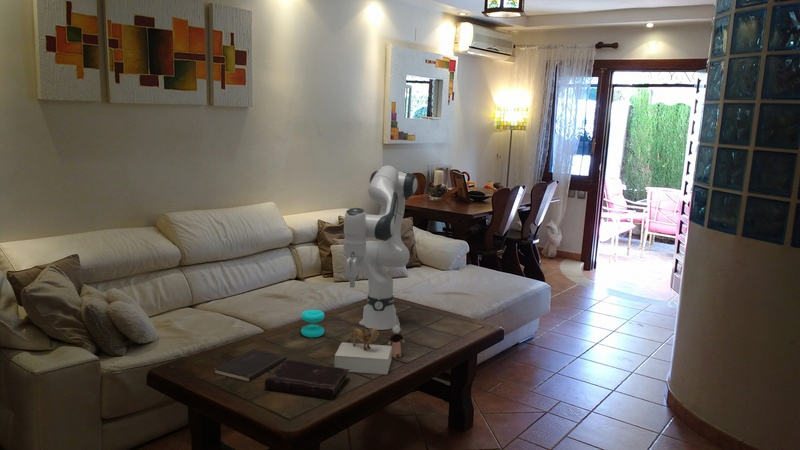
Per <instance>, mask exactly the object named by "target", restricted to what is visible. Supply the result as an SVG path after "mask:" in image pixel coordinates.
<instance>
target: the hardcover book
mask: <svg viewBox="0 0 800 450" xmlns="http://www.w3.org/2000/svg"><path fill="white" fill-rule="evenodd" d="M286 359H288V357H287V356H286V355H283V354H280V353H274V352H270V351H264V350H261V349H257V348H252V349H251V350H248V351H246V352H244V353H242V354H240V355H238V356H237V357H236V356H235V358H233V359H231V360H229V361H226V362H224V363H222V364H220V365H219V366H217V367H214V368H213V370H215V371H214V373H215V374H217V375H222V376H226V377H230V378H234V379H236V380H241V381H245V382H248V383H251V382H252V381H253V380H255V379H257V378H258V377H261V376H263V375H264V374H266V373H268V372H269V371H271V370H274V369H276V368H277V367H278V366H279V365H280V364H281V363H282V362H284V361H285V360H286Z"/></svg>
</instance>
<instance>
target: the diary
mask: <svg viewBox="0 0 800 450" xmlns="http://www.w3.org/2000/svg"><path fill="white" fill-rule="evenodd" d="M349 370H350V369H344V368H337V367H335V366H328V365H321V364H315V363H311V362H306V361H301V360H295V359H288V358H287V359H286V360H285V361H284V362H282V363H281V364H280V365H278V366H276V367H275V368H274V369H273V371H271V373H270V374H269V375H268V376H267V377H265V379H264V389H265V390H267V391H272V392H282V393H287V394H293V395H298V396H299V395H300V396H306V397H315V398H321V399H326V400H334V398H335V394H337V392H338V391H339V390H340V389H343V388H344V387H345V386H346V385H347V383H348V382H349V381H350V377H347V374H348V373H349V372H348V371H349Z"/></svg>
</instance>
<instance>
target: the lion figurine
mask: <svg viewBox="0 0 800 450" xmlns="http://www.w3.org/2000/svg"><path fill="white" fill-rule="evenodd" d="M379 335H380V332H379V331H378V330H376V328H367V329H364V330H363V331H362V329H360V328H359V327H356V328H354V329H353V330H352V335H351V337H350V338H349V339H347V342H351V341H352V343H353V346H356V345H355V343H357V342H358V340H359V341H360V342H363V343H362V344H363V345H364V351H367V349H366V344H367V348H368V349H370V348H371V347H369V344H373V342H374V341H376V340H377V338H379ZM357 339H358V340H357Z"/></svg>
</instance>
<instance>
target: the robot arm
mask: <svg viewBox="0 0 800 450" xmlns="http://www.w3.org/2000/svg"><path fill="white" fill-rule="evenodd" d="M369 178H370V179H369V185H368V189H367V190H368V196H369V198H370V199H371V200H372V201H373V202H374V203H376V204H377V205H380V206H381V207H380V211H379V214H371V213H370V214H369V213H366V212H365V209H363V208H360V207H353V208H349V209H347V210H346V211H345V214H344V221H343V233H344V239H343V255H344V256H346V259H347V260H346V262H345V263H346V265H345V277H346V278H345V279H348V280H349V281H348V282H349V287H350V289H351V288H353V289H354V288H355V287H356V282H357V281H358V280H359V279H360V278H359V277H360V270H361V269H362V267H363V268H364V271H365V272H366V275H367V279H368V280H367V283H368V294H367V296H366V297H367V298H366V301H367V304H366V305H364V306H363V315H362V319H361V320H359V323H358V324H359V325H361V326H364V327H365V328H367V329H370V328H376V330H377V331H383V330H392V329H393V327H394V326H395V325H397V326H399V327H400V328H401V323H400V319H399V317H398V315H397V309H396V307H395V305H394V302H395V301H394V300H395V298H394V295H393V293H394V291H393V290H394V280H393V278H392V276H391V275H390V274H388V273H387V272H386V271H385V270H384V268H383V267H386V268H393V269H395V268H397V269H398V268H404V267H406V266H407V264H408V263H409V261H410V258H411V257H410V256H411V255H410V250H409V248H408V247H407V245H405V244H404V242H403V239H402V237H401V231H402V230H401V229H402V224H403V219H404V215H405V208H406V205H405V204H406V201H408V200H409V199H410V198H411V197H413V196H414V194H415V193H416V191H417V189H418V179H417V176H416V175H415V174H413V173H411V172H404V171H398V169H396V167H394V166H392V165H383V166H381V167H380V169H378V170H375V171H374V172H372V173H371V175H370V177H369ZM366 239H374V240H366ZM378 240H379V241H378Z"/></svg>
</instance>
